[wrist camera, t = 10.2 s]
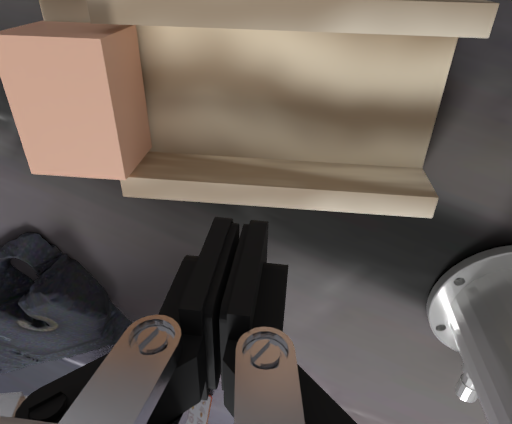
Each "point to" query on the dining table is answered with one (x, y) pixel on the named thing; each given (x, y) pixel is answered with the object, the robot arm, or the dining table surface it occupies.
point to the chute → (290, 97)
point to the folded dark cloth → (51, 307)
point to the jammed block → (77, 97)
